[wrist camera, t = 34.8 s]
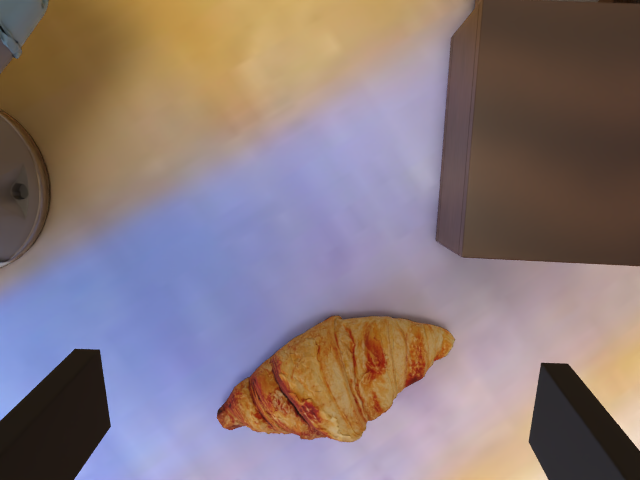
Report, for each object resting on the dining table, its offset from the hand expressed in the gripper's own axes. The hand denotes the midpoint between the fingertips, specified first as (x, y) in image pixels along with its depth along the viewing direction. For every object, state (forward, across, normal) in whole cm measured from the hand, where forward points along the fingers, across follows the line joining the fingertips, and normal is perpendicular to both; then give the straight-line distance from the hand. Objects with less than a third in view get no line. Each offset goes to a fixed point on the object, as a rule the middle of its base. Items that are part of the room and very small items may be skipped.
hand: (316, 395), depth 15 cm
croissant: (+26, 0, +15) cm, 30 cm away
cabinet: (+29, -16, -4) cm, 34 cm away
